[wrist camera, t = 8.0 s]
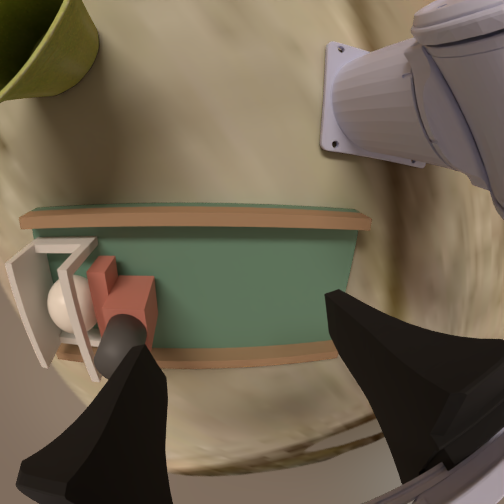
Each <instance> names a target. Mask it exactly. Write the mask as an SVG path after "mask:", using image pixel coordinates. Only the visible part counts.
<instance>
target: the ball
mask: <svg viewBox="0 0 504 504" xmlns="http://www.w3.org/2000/svg"><path fill="white" fill-rule="evenodd" d="M73 279H74V284H75V288H76V293H77V297H78V301H79V305H80V309H81V313H82V317H83V320H84V324H85V327H86V331H89V330H90V329H91V328H92V327H94V325H95V324H96V323H97V319H96V315H95V311H94V307H93V302H92V298H91V293H90V289H89V284H88V279H86V278H85V277H82V276H79V275H73ZM47 306H48V311H49V314H50V317H51V318H52V320H53V322H54V323H55V324H56V325H57V326H58V327H59V328H60V329H62V330H63V331H65V332H68V333H72V334H74V331H73V328H72V325H71V322H70V319H69V315H68V312H67V308H66V305H65V301H64V297H63V293H62V289H61V285H60V281H59V279H58V280H57V281H56V282H55V283H54V284H53V286H52V287H51V289H50V291H49V294H48V300H47Z"/></svg>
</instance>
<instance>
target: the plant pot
mask: <svg viewBox="0 0 504 504" xmlns="http://www.w3.org/2000/svg"><path fill="white" fill-rule="evenodd" d="M98 48H99V39H98V32H97V29H96V27H95V25H94V23H93V21H92V19H91V17H90V16H89V14H88V12H87V10H86V8H85V6H84V4H83V2H82V0H0V103H1V102H3V101H6V100H14V99H22V98H32V97H45V96H55V95H58V94H60V93H62V92H64V91H66V90H67V89H69V88H71V87H73V86H75V85H76V84H77V83H78V82H79V81H80V80H81V79H82V78H83V77H84V76H85V75H86V73H87V72H88V71H89V69H90V68H91V66H92V64H93V62H94V60H95V58H96V55H97V52H98Z"/></svg>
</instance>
